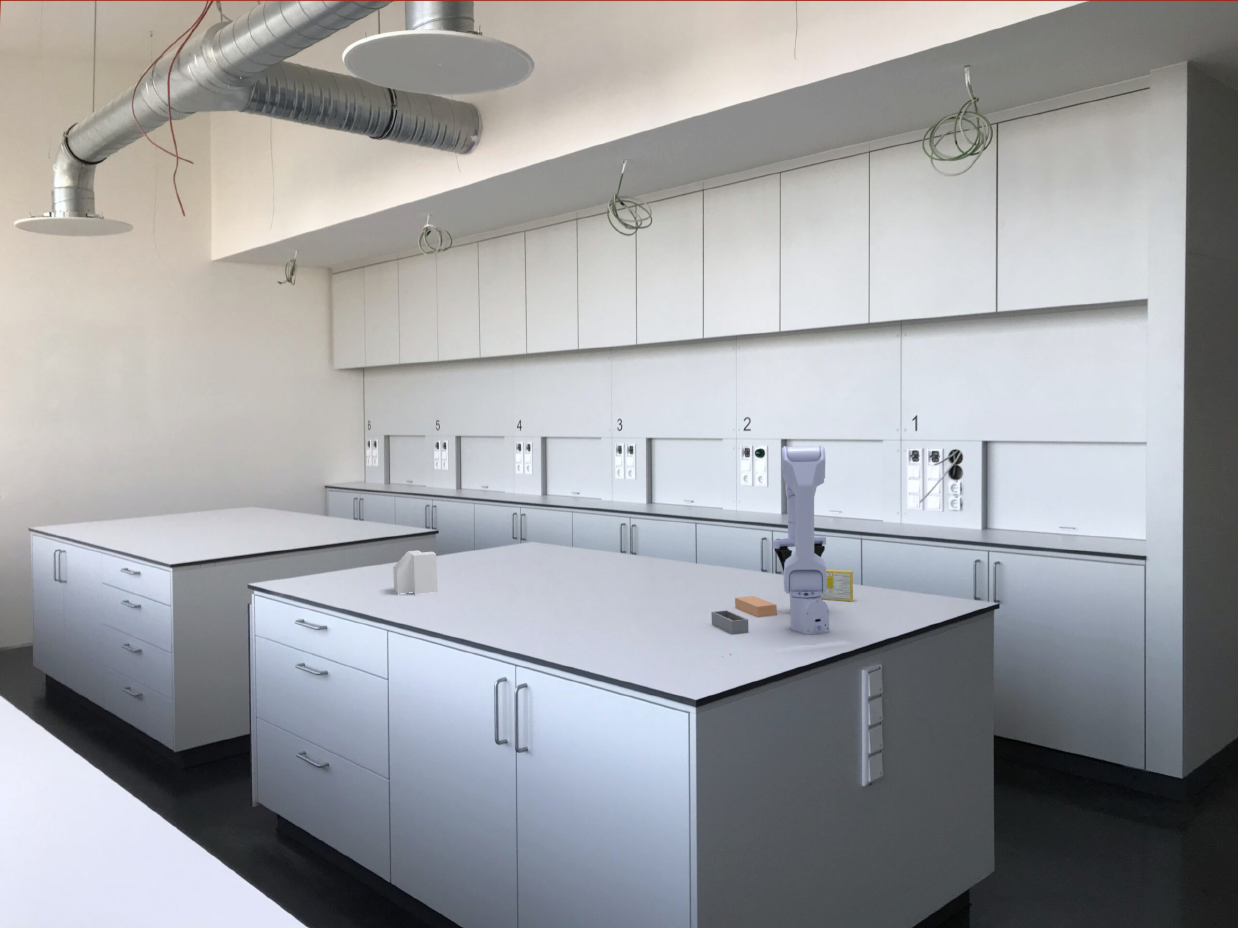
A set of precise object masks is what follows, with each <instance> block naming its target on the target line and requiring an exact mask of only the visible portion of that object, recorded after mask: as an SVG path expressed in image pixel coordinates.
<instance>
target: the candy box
mask: <svg viewBox="0 0 1238 928" xmlns="http://www.w3.org/2000/svg"><path fill="white" fill-rule="evenodd" d="M826 572H827V591H826V592H825V593H822V596H821V598H822V600H823V601H825V600H826V601H839V602H849V603H852V602H853V601H854V579H853V578H854V576H853V575H854V572H853V570H838V569H837V570H836V569H826Z"/></svg>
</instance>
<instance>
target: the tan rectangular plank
mask: <svg viewBox="0 0 1238 928" xmlns="http://www.w3.org/2000/svg"><path fill="white" fill-rule="evenodd" d="M734 603H735V604H734V607H735V609H738V610H740V611H742V612H745V613H747V614H749V615H751V616H754V617H757V618H762V617H763V618H764V617H772V616H778V613H777V612H778V610H777V604H776V603H773V602H771V601H768V600H766V599H763V598H760V597H757V596H755V595H749V596H740V597H739V596H737V597H734Z"/></svg>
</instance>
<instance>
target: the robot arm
mask: <svg viewBox="0 0 1238 928" xmlns="http://www.w3.org/2000/svg"><path fill="white" fill-rule="evenodd" d="M825 449H826V448H825V447H824V446H823V445H812V446H809V445H808V446H786V445H784V446H783V447H782V448H781V470H782V479H783V480H784V485H785V486H784V487H785V488H784V489H785V496H786V498H787V499H786V501H787V538H781V539H774V540H772V548H773V549H774V551H775V555H777V558H778V560H779V562H780V564H781V568H782V572H783V589H784V590H783V591H784V592H785V593H786V594H789V617H790V618H789V619H790V630H791V631H794V632H799V633H802V634H804V635H815V634H816V635H817V634H824V633H829V632H830V609H829V605H828V604H827V603H826V602H825V600H823V599H822V598H821V596H822V593H825V592H826V591H827V572H826V570H827V564H826V562H825V560H824V558H822V555H823V553H824V552H825V550H826V546H825V545H827V537H826V536H815V495H816V491H817V488H818V487H819V486H822V484H825V479H826V450H825ZM793 547H794V548H795V552H794V553H793V550H791V549H790V548H793ZM792 553H793V554H792Z"/></svg>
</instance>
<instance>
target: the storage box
mask: <svg viewBox="0 0 1238 928" xmlns="http://www.w3.org/2000/svg"><path fill="white" fill-rule="evenodd" d="M728 618H730V619H732V620H734V621H732V620H730V619H728ZM711 625H712V626H715V627H717V628H719V629H720V630H723V631H725V632H726V633H729V634H731V635H738V634H746V633H749V619H748V618H745V617H743V616H741V615H739V614H736V613H734V612H732V611H729V610H727V609H726V610H718V611H716V610H715V611H711Z"/></svg>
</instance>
